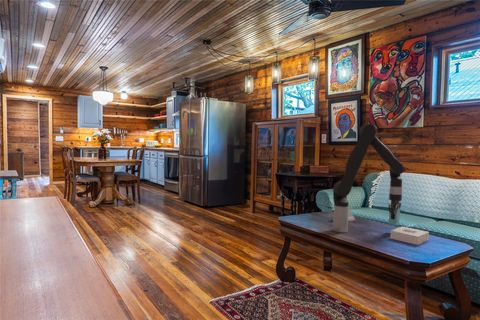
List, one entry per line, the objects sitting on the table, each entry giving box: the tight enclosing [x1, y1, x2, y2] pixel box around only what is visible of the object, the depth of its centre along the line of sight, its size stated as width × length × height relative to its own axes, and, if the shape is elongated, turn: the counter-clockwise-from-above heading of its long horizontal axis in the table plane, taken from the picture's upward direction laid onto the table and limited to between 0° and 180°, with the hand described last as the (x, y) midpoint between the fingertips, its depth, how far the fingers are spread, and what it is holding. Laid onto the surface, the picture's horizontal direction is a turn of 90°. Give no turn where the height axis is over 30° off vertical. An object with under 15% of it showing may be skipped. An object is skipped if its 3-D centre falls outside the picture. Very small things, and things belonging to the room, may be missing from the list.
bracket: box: [388, 208, 401, 226], centre depth 208 cm, size 4×5×11 cm
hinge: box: [348, 208, 356, 222], centre depth 241 cm, size 17×5×10 cm, turn 123°
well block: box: [390, 226, 430, 246], centre depth 194 cm, size 16×16×5 cm
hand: (394, 218), depth 208 cm, fingers closed on bracket, 4 cm apart
